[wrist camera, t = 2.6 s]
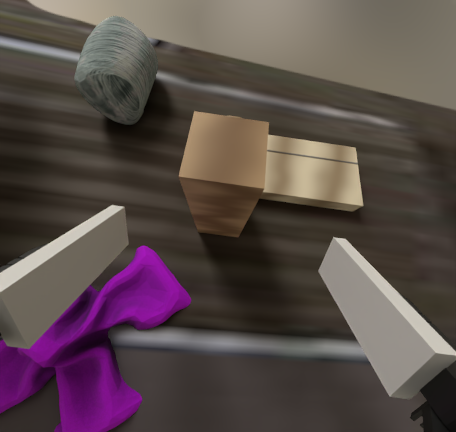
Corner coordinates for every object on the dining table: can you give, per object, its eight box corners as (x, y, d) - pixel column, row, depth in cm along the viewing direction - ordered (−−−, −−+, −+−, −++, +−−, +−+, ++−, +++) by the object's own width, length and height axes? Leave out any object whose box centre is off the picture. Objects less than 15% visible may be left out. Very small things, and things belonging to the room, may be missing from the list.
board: (191, 188, 25) (189, 181, 23) (202, 135, 28) (201, 124, 26) (352, 211, 25) (363, 205, 23) (346, 156, 28) (355, 147, 26)
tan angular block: (198, 232, 23) (178, 176, 11) (213, 146, 27) (212, 37, 15) (238, 237, 23) (264, 188, 11) (247, 151, 27) (273, 47, 15)
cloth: (203, 256, 23) (199, 248, 17) (148, 465, 16) (112, 566, 11) (27, 215, 23) (-37, 193, 17) (-92, 405, 17) (-256, 471, 11)
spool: (150, 125, 24) (76, 19, 16) (102, 140, 28) (24, 60, 20) (185, 81, 31) (145, -5, 24) (143, 98, 35) (98, 28, 28)
